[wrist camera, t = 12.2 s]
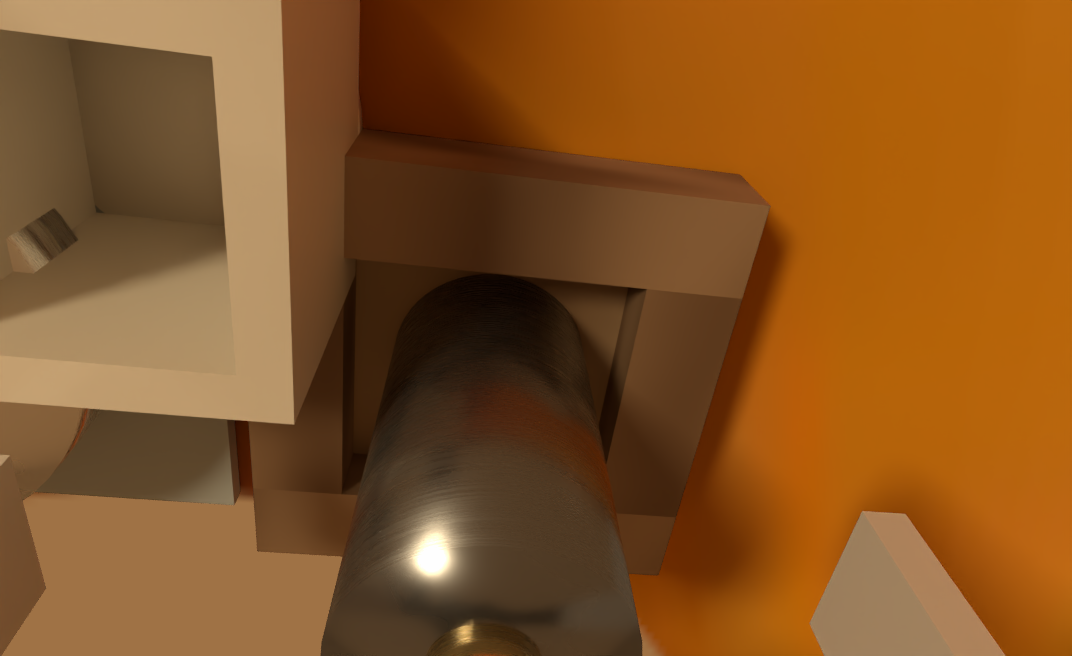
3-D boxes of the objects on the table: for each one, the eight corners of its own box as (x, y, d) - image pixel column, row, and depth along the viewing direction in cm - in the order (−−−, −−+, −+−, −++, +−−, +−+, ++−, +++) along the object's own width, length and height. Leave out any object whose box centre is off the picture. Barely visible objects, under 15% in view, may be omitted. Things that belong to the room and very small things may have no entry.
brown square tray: (278, 494, 19) (257, 551, 18) (261, 116, 15) (229, 141, 13) (644, 519, 20) (658, 575, 19) (739, 174, 16) (770, 206, 14)
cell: (391, 428, 18) (311, 810, 10) (397, 264, 16) (302, 590, 8) (568, 440, 18) (619, 816, 11) (596, 283, 16) (687, 609, 8)
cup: (76, 233, 16) (-139, 390, 10) (18, -86, 13) (-320, -94, 7) (360, 263, 16) (294, 424, 11) (365, -35, 13) (280, -10, 8)
